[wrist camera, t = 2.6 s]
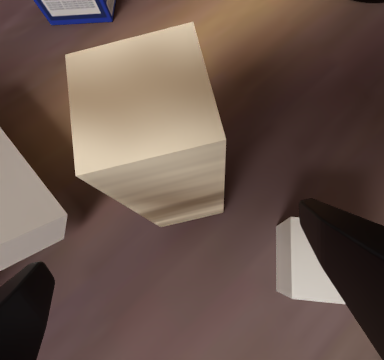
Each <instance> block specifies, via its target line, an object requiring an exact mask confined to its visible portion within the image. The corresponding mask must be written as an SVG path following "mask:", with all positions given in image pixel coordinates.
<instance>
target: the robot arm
mask: <svg viewBox="0 0 384 360" xmlns="http://www.w3.org/2000/svg"><path fill="white" fill-rule="evenodd" d="M299 220H300V225H301V228H302V230H303V232H304V234H305V236H306V238H307V240H308V242H309V244H310V246H311V248H312V250H313V251H314V253H315V255H316V257H317V259H318V261H319V263H320V265H321V267H322V268H323V270H324V272H325V273H326V275H327V276H328V278H329V279H330V281H331V282H332V284H333V285H334V287H335V288H336V290H337V291H338V293H339V294H340V296H341V297H342V299H343V300H344V302H345V304H346V305H347V307H348V308H349V310H350V311H351V313H352V314H353V316H354V317H355V319H356V320H357V322H358V323H359V325H360V326H361V328H362V329H363V331H364V332H365V334H366V335H367V337H368V338H369V340H370V342H371V343H372V345H373V346H374V348H375V349H376V351H377V352H378V354H379V355H380V357H381V358H382V360H384V226H382V225H380V224H377V223H374V222H372V221H369V220H367V219H364V218H361V217H359V216H356V215H354V214H351V213H349V212H346V211H343V210H341V209H338V208H336V207H333V206H330V205H328V204H325V203H323V202H320V201H318V200H315V199H312V198H310V199H306V200H302V201H300V202H299ZM54 285H55V280H54V277H53V275H52V274H51V272H50V271H49V269H48V268H47V266H46V265H45V263H43V262H41V261H39V262H35V263H31V264H29V265H27V266H26V267H25V268H24V269H22V270H21V271H20V272H19V273H17V274H16V275H15V276H14V277H12V278H11V279H10V280H9V281H7V282H6V283H5V284H4V285H2V286H1V287H0V360H36V359H37V356H38V353H39V349H40V346H41V343H42V339H43V336H44V333H45V329H46V325H47V320H48V316H49V310H50V305H51V300H52V295H53V290H54Z"/></svg>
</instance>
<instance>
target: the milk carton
mask: <svg viewBox="0 0 384 360" xmlns="http://www.w3.org/2000/svg"><path fill="white" fill-rule="evenodd" d="M34 2H35V3H36V4H37V6H38V7H39V9H40V10H41V11H42V13H43V14H44V16H45V17H46V18H47V20H48V21H49V23H50V24H51V25H65V24H82V23H100V22H113V15H114V9H115V3H116V0H34Z"/></svg>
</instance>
